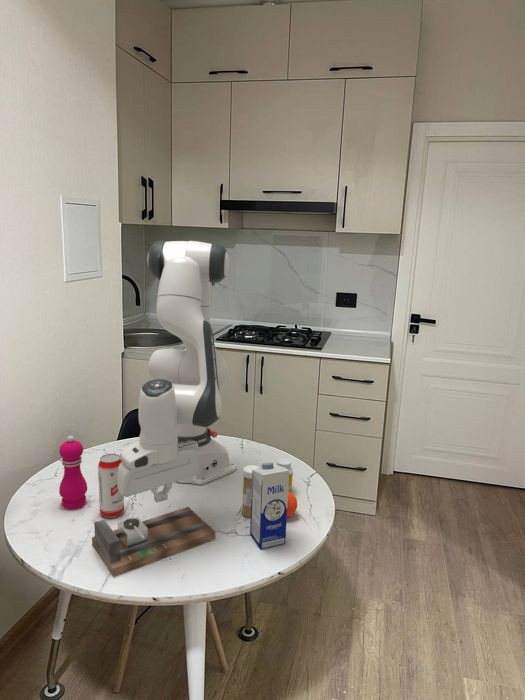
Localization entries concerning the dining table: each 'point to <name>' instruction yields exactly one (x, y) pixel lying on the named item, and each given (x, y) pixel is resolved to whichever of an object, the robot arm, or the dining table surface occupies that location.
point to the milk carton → (269, 505)
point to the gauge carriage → (132, 532)
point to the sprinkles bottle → (247, 489)
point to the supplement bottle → (287, 464)
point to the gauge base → (151, 540)
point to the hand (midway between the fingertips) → (161, 500)
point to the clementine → (291, 504)
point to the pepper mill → (72, 475)
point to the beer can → (109, 486)
